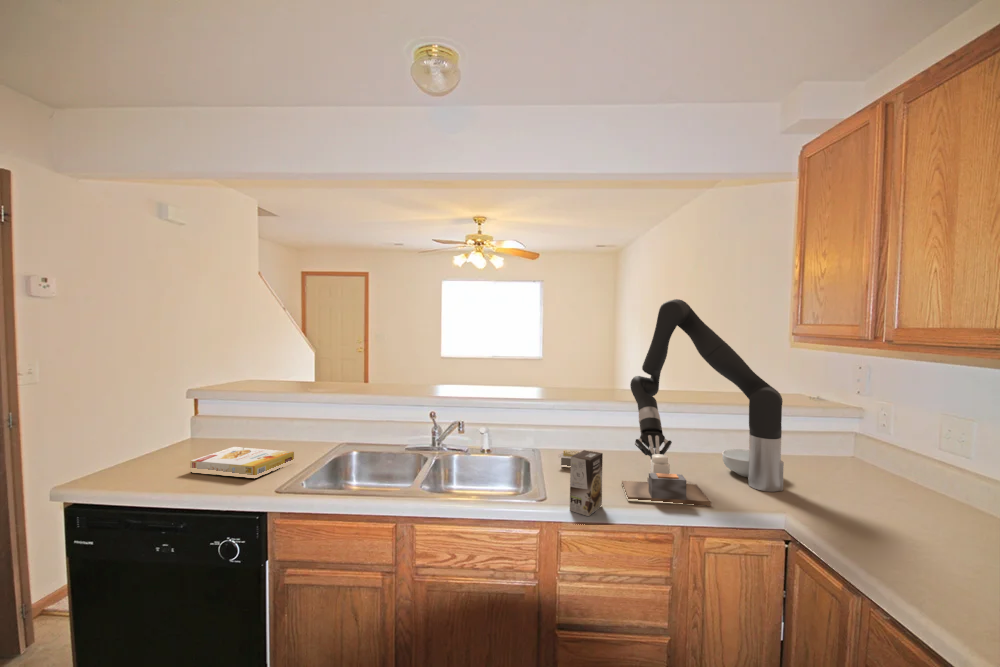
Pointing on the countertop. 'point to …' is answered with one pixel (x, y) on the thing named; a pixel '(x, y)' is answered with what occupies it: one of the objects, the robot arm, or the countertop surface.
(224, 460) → the cereal box
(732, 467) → the cereal bowl
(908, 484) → the countertop surface
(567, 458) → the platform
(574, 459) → the coffee box
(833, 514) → the countertop surface
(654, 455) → the plunger knob
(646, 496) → the knob mount
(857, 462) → the countertop surface
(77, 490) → the countertop surface
